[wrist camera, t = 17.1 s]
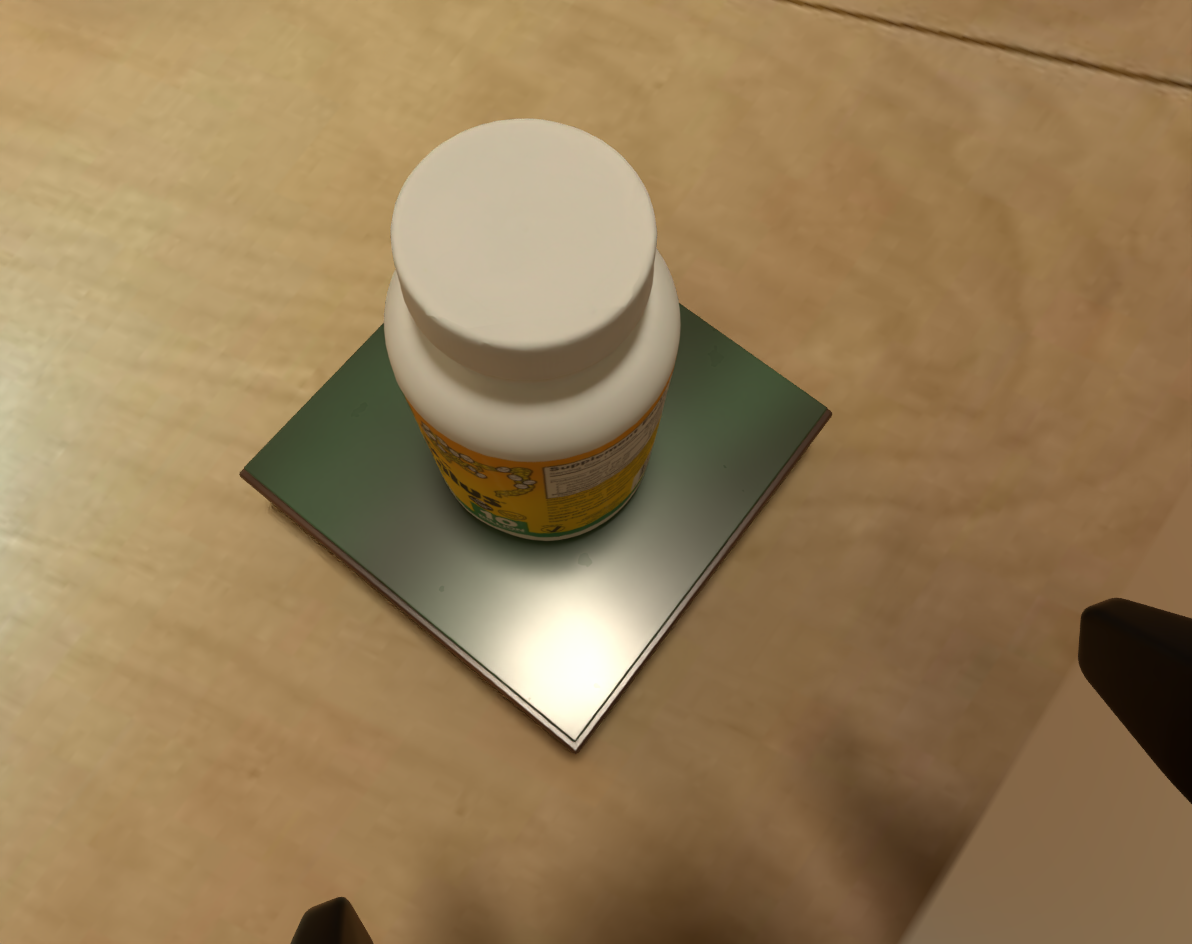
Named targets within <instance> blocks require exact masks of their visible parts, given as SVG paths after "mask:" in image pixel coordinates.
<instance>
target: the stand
mask: <svg viewBox="0 0 1192 944" xmlns="http://www.w3.org/2000/svg"><path fill="white" fill-rule="evenodd" d="M679 308H680V324H681V326H680V340H679V346H678V352H677V356H676V360H675V365H674V369H673V373H672V377H671V381H670V385H669V388H668V391H667V395H666V399H665V403H664V407H663V411H662V415H661V418H660V422H659V426H658V430H657V433H656V437H655V441H654V444H653V447H652V451H651V455H650V459H649V462H648V465H647V468H646V471H645V473H644V476H643V478H642V480H641V482H640V484H639V486H638V488H637V489H636V491H635V492H634V494H633V495H632V497H631V498H630V499H629V500H628V502H627V503H626V504H625V505H624V506H623V507H622V508H621V509H620V510H619V511H618V512H617V513H616V514H615V515H614V516H613V517H611V518H610V519H609V520H607V521H606V522H604V523H603V524H601V525H599V526H598V527H596V528H594V529H592V530H590V531H588V532H586V533H583V534H581V535H578V536H574V537H571V538H567V539H561V540H553V541H541V540H530V539H525V538H521V537H517V536H514V535H511V534H508V533H506V532H503V531H501V530H498V529H496V528H494V527H492V526H489V525H487V524H486V523H484V522H482V521H480V520H479V519H477V518H476V517H475V516H473V515H472V514H471V513H470V512H468V511H467V510H466V509H465V508H464V507H463V506H462V504H461V503H460V502H459V501H458V500H457V499H456V497H455V496H454V494H453V493H452V491H451V490H450V488H449V486H448V485H447V483H446V482H445V480H444V478H443V476H442V474H441V472H440V469H439V467H438V465H437V463H436V461H435V459H434V457H433V455H432V453H431V451H430V448H429V446H428V444H427V442H426V440H425V438H424V436H423V434H422V432H421V431H420V428H419V425H418V423H417V421H416V419H415V417H414V415H413V413H412V411H411V410H410V407H409V405H408V403H407V402H406V400H405V398H404V396H403V394H402V392H401V390H400V389H399V387H398V384H397V381H396V378H395V375H394V372H393V369H392V366H391V363H390V360H389V356H388V352H387V348H386V343H385V333H384V323H383V324H382V325H381V326H380V327H379V328H378V329H377V330H376V331H375V332H374V333H373V335H372V336H371V337H370V338H369V339H368V340H367V341H366V342H365V343H364V344H363V345H362V346H361V347H360V348H359V349H358V350H357V351H356V352H355V353H354V354H353V355H352V356H351V357H350V358H349V359H348V360H347V361H346V362H345V363H344V365H343V366H342V367H341V368H340V369H339V370H338V371H337V372H336V373H335V374H334V375H333V376H332V377H331V378H330V379H329V380H328V381H327V382H326V383H325V384H324V385H323V386H322V387H321V388H320V389H319V390H318V391H317V392H316V393H315V395H314V396H313V397H312V398H311V399H310V400H309V401H308V402H307V403H306V404H305V405H304V406H303V407H302V408H301V409H300V410H299V411H298V412H297V413H296V414H295V415H294V416H293V417H292V418H291V419H290V420H289V421H288V422H287V423H286V425H285V426H284V427H283V428H282V429H281V430H280V431H279V432H278V433H277V434H276V435H275V436H274V437H273V438H272V439H271V440H270V441H269V442H268V443H267V444H266V445H265V446H264V447H263V448H262V449H261V450H260V451H259V452H258V453H257V455H256V456H255V457H254V458H253V459H252V460H251V461H250V462H249V463H248V464H247V465H246V466H245V467H244V469H243V470H242V471H241V472H240V474H239V475H240V477H241V478H242V479H244V480H245V481H246V482H247V483H248V484H250V485H251V486H252V487H253V488H255V489H256V490H257V491H258V492H259V493H261V494H262V495H263V496H264V497H265V498H267V499H268V500H269V501H270V502H271V503H273V504H274V505H275V506H276V507H277V508H279V509H280V510H281V511H282V512H283V513H285V514H286V515H287V516H288V517H289V518H291V519H292V520H293V521H294V522H295V523H297V524H298V525H299V526H300V527H301V528H303V529H304V530H305V531H306V532H308V533H309V534H310V535H311V536H312V537H314V538H315V539H316V540H317V541H318V542H320V543H321V544H322V545H323V546H324V547H326V548H327V549H328V550H329V551H330V552H332V553H333V554H334V555H335V556H336V557H338V558H339V559H340V560H341V561H342V562H344V563H345V564H346V565H347V566H348V567H350V568H351V569H352V570H353V571H354V572H356V573H357V574H358V575H359V576H361V577H362V578H363V579H364V580H365V581H367V582H368V583H369V584H370V585H371V586H373V587H374V588H375V589H376V590H377V591H379V592H380V593H381V594H382V595H383V596H385V597H386V598H387V599H388V600H389V601H391V602H392V603H393V604H394V605H395V606H397V607H398V608H399V609H400V610H401V611H403V612H404V613H405V614H406V615H407V616H409V617H410V618H411V619H412V620H414V621H415V622H416V623H417V624H418V625H420V626H421V627H422V628H423V629H424V630H426V631H427V632H428V633H429V634H430V635H432V636H433V637H434V638H435V639H436V640H438V641H439V642H440V643H441V644H442V645H444V646H445V647H446V648H447V649H448V650H450V651H451V652H452V653H453V654H454V655H456V656H457V657H458V658H459V659H460V660H462V661H463V662H464V663H465V664H466V665H468V666H469V667H470V668H471V669H473V670H474V671H475V672H476V673H477V674H479V675H480V676H481V677H482V678H483V679H485V680H486V681H487V682H488V683H489V684H491V685H492V686H493V687H494V688H495V689H497V690H498V691H499V692H500V693H501V694H503V695H504V696H505V697H506V698H507V699H509V700H510V701H511V702H512V703H513V704H515V705H516V706H517V707H518V708H519V709H521V710H522V711H523V712H524V713H526V714H527V715H528V716H529V717H530V718H532V719H533V720H534V721H535V722H536V723H538V724H539V725H540V726H541V727H542V728H544V729H545V730H546V731H547V732H548V733H550V734H551V735H552V736H553V737H554V738H556V739H557V740H558V741H559V742H560V743H562V744H563V745H564V746H565V747H566V748H568V749H569V750H570V751H571V752H572V753H575V754H577V753H578V752H579V751H580V750H581V749H582V747H583V746H584V745H585V743H586V742H587V741H588V739H589V738H590V737H591V735H592V734H593V733H594V731H595V730H596V729H597V727H598V726H599V725H600V723H601V722H602V721H603V719H604V718H605V717H606V715H607V714H608V713H609V711H610V710H611V709H612V707H613V706H614V705H615V703H616V702H617V701H618V699H619V698H620V697H621V695H622V694H623V693H624V691H625V690H626V689H627V687H628V686H629V685H630V683H631V682H632V681H633V679H634V678H635V677H636V675H637V674H638V673H639V671H640V670H641V669H642V667H643V666H644V665H645V663H646V662H647V661H648V659H649V658H650V657H651V655H652V654H653V653H654V651H655V650H656V649H657V648H658V646H659V645H660V644H661V642H662V641H663V640H664V638H665V637H666V636H667V634H668V633H669V632H670V630H671V629H672V628H673V626H674V625H675V624H676V622H677V621H678V620H679V618H680V617H681V616H682V614H683V613H684V612H685V610H686V609H687V608H688V606H689V605H690V604H691V602H692V601H693V600H694V598H695V597H696V596H697V594H698V593H699V592H700V590H701V589H702V588H703V586H704V585H705V584H706V582H707V581H708V580H709V578H710V577H711V576H712V574H713V573H714V572H715V570H716V569H717V568H718V566H719V565H720V564H721V562H722V561H723V560H724V558H725V557H726V556H727V554H728V553H729V552H730V550H731V549H732V548H733V547H734V545H735V544H736V543H737V541H738V540H739V539H740V537H741V536H742V535H743V533H744V532H745V531H746V529H747V528H748V527H749V525H750V524H751V523H752V521H753V520H754V519H755V517H756V516H757V515H758V513H759V512H760V511H761V509H762V508H763V507H764V505H765V504H766V503H767V501H768V500H769V499H770V497H771V496H772V495H773V493H774V492H775V491H776V489H777V488H778V487H779V485H780V484H781V483H782V481H783V480H784V479H785V477H786V476H787V475H788V473H789V472H790V471H791V469H792V468H793V467H794V465H795V464H796V463H797V461H798V460H799V459H800V457H801V456H802V455H803V453H804V452H805V451H806V450H807V448H808V447H809V446H810V444H811V443H812V442H813V440H814V439H815V438H816V436H817V435H818V434H819V432H820V431H821V430H822V428H823V427H824V426H825V424H826V423H827V422H828V420H829V419H830V418H831V416H832V412H831V411H830V410H828V409H827V407H825V406H824V405H823V404H821V403H820V402H818V401H817V400H816V399H814V398H813V397H811V396H810V395H809V394H807V393H806V392H804V391H803V390H801V389H800V388H799V387H797V386H796V385H794V384H793V383H792V382H790V381H789V380H787V379H786V378H784V377H783V376H782V375H780V374H779V373H777V372H776V371H775V370H773V369H772V368H770V367H769V366H767V365H766V364H765V363H763V362H762V361H760V360H759V359H758V358H756V357H755V356H753V355H752V354H750V353H749V352H748V351H746V350H745V349H743V348H742V347H741V346H739V345H738V344H736V343H735V342H734V341H732V340H731V339H729V338H728V337H726V336H725V335H724V334H722V333H721V332H719V331H718V330H717V329H715V328H714V327H712V326H711V325H709V324H708V323H707V322H705V321H704V320H702V319H701V318H700V317H698V316H697V315H695V314H694V313H692V312H691V311H690V310H688V309H687V308H685V307H684V306H683V305H681V304H680V303H679Z"/></svg>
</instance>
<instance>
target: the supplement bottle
mask: <svg viewBox="0 0 1192 944" xmlns="http://www.w3.org/2000/svg"><path fill="white" fill-rule="evenodd" d="M391 245H392V254H393V259H394V265H395V268H396V269H395V271H394V274H393V276H392V279H391V282H390V285H389V288H388V292H387V297H386V302H385V311H384V333H385V343H386V348H387V352H388V356H389V360H390V363H391V366H392V369H393V372H394V375H395V378H396V381H397V384H398V387H399V389H400V390H401V392H402V394H403V396H404V398H405V400H406V402H407V403H408V405H409V407H410V410H411V411H412V413H413V415H414V417H415V419H416V421H417V423H418V425H419V428H420V431H421V432H422V434H423V436H424V438H425V440H426V442H427V444H428V446H429V448H430V451H431V453H432V455H433V457H434V459H435V461H436V463H437V465H438V467H439V469H440V472H441V474H442V476H443V478H444V480H445V482H446V483H447V485H448V486H449V488H450V490H451V491H452V493H453V494H454V496H455V497H456V499H457V500H458V501H459V502H460V503H461V504H462V506H463V507H464V508H465V509H466V510H467V511H468V512H470V513H471V514H472V515H473V516H475V517H476V518H477V519H479V520H480V521H482V522H484V523H486V524H487V525H489V526H492V527H494V528H496V529H498V530H501V531H503V532H506V533H508V534H511V535H514V536H517V537H521V538H525V539H530V540H541V541H553V540H561V539H567V538H571V537H574V536H578V535H581V534H583V533H586V532H588V531H590V530H592V529H594V528H596V527H598V526H599V525H601V524H603V523H604V522H606V521H607V520H609V519H610V518H611V517H613V516H614V515H615V514H616V513H617V512H618V511H619V510H620V509H621V508H622V507H623V506H624V505H625V504H626V503H627V502H628V500H629V499H630V498H631V497H632V495H633V494H634V492H635V491H636V489H637V488H638V486H639V484H640V482H641V480H642V478H643V476H644V473H645V471H646V468H647V465H648V462H649V459H650V455H651V451H652V447H653V444H654V441H655V437H656V433H657V430H658V426H659V422H660V418H661V415H662V411H663V407H664V403H665V399H666V395H667V391H668V388H669V385H670V381H671V377H672V373H673V369H674V365H675V360H676V356H677V352H678V346H679V340H680V326H681V324H680V308H679V301H678V296H677V292H676V288H675V285H674V281H673V279H672V276H671V274H670V271H669V269H668V267H667V265H666V263H665V261H664V259H663V257H662V256H661V254H660V252H659V251H658V249H657V248H656V245H657V228H656V221H655V214H654V210H653V206H652V203H651V200H650V197H649V194H648V192H647V190H646V188H645V186H644V184H643V182H642V181H641V179H640V178H639V176H638V175H637V173H636V172H635V170H634V169H633V168H632V167H631V165H630V164H629V163H628V162H627V161H626V160H625V158H623V157H622V156H621V155H620V154H619V153H618V152H617V151H616V150H614V149H613V148H612V147H611V146H609V145H608V144H606V143H605V142H604V141H602V140H601V139H599V138H597V137H595V136H593V135H591V134H589V133H587V132H585V131H582V130H580V129H578V128H576V127H573V126H569V125H565V124H561V123H557V122H553V121H548V120H542V119H509V120H500V121H494V122H491V123H486V124H481V125H479V126H476V127H473V128H470V129H468V130H465V131H463V132H461V133H459V134H457V135H455V136H454V137H452V138H450V139H448V140H447V141H445V142H443V143H442V144H440V145H439V146H438V147H436V148H435V149H433V150H432V151H431V152H430V153H429V154H428V155H427V156H426V157H425V158H424V159H423V160H422V161H421V162H420V163H419V164H418V165H417V166H416V167H415V169H414V170H413V171H412V172H411V174H410V175H409V177H408V178H407V179H406V181H405V183H404V185H403V187H402V189H401V191H400V193H399V196H398V198H397V200H396V203H395V207H394V212H393V217H392V223H391Z"/></svg>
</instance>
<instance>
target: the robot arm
mask: <svg viewBox="0 0 1192 944" xmlns="http://www.w3.org/2000/svg"><path fill="white" fill-rule="evenodd" d="M1078 661H1079V665H1080V668H1081V671H1082V673H1083V674H1084V676H1085V678H1086V679H1087V680H1088V682H1089V683H1090V684H1091V685H1092V687H1093V688H1094V689H1095V690H1096V691H1097V693H1098V694H1099V695H1100V696H1101V698H1102V699H1103V700H1104V701H1105V702H1106V704H1107V705H1108V706H1109V707H1110V709H1111V710H1112V711H1113V712H1114V714H1115V715H1116V716H1117V717H1118V718H1119V720H1120V721H1121V722H1122V723H1123V725H1124V726H1125V727H1126V728H1127V729H1128V731H1129V732H1130V733H1131V734H1132V736H1133V737H1134V738H1135V739H1136V740H1137V742H1138V743H1139V744H1140V745H1141V747H1142V748H1143V749H1144V750H1145V752H1146V753H1147V754H1148V755H1149V756H1150V758H1151V759H1152V760H1153V761H1154V763H1155V764H1156V765H1157V766H1158V767H1159V768H1160V770H1161V771H1162V772H1163V773H1164V774H1165V776H1166V777H1167V778H1168V779H1169V780H1170V781H1171V782H1172V784H1173V785H1174V786H1175V787H1176V788H1177V789H1178V790H1179V791H1180V792H1181V793H1182V794H1183V795H1184V796H1185V797H1186V798H1187V799H1188V801H1189V802H1191V804H1192V619H1191V618H1188V617H1185V616H1181V615H1177V614H1174V613H1171V612H1167V611H1164V610H1161V609H1157V608H1154V607H1150V606H1147V605H1143V604H1140V603H1136V602H1133V601H1130V600H1126V599H1122V598H1111V599H1108V600H1105V601H1102V602H1100V603H1097V604H1095V605H1092V606H1090V607H1088V608H1086V609H1085V610H1084V611H1083V613H1082V615H1081V622H1080V636H1079V650H1078ZM291 944H373V941H372V939H371V937H370V936H369V934H368V932H367V931H366V929H365V927H364V925H363V924H362V922H361V920H360V918H359V917H358V915H357V913H356V912H355V910H354V908H353V906H352V905H351V903H350V902H349V901H348V900H347V899H346V898H345V897H337V898H335V899H332V900H330V901H327V902H324V903H322V904H319V905H317V906H314V907H312V908H310V909H309V910H308V911H307V912H306V913H305V914H304V915H303V917H302V919H301V921H300V924H299V926H298V928H297V930H296V932H295V935H294V937H293V939H292V941H291Z"/></svg>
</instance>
